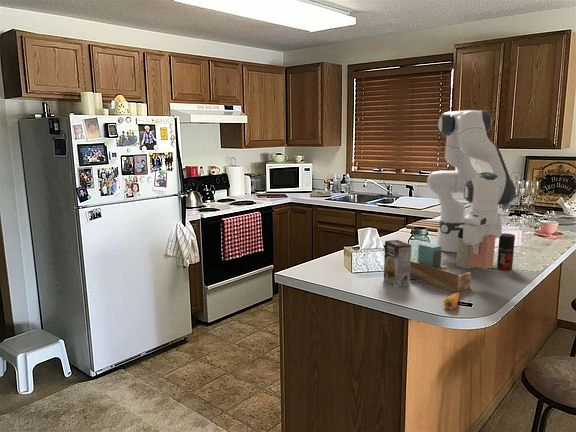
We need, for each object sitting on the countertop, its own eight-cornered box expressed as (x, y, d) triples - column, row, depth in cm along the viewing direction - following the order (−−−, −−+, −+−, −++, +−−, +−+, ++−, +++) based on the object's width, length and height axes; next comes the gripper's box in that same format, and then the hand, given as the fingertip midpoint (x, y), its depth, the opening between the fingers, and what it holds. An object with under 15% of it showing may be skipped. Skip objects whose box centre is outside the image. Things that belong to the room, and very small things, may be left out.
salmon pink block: (474, 261, 183) (477, 231, 180) (492, 266, 177) (495, 235, 174) (467, 263, 180) (469, 233, 178) (485, 268, 174) (487, 237, 172)
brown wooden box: (422, 273, 195) (423, 257, 194) (469, 287, 178) (471, 270, 176) (408, 277, 190) (409, 260, 189) (455, 292, 172) (456, 274, 171)
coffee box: (382, 279, 187) (384, 240, 184) (396, 277, 190) (397, 239, 187) (396, 286, 179) (397, 246, 176) (410, 284, 181) (411, 244, 178)
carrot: (452, 313, 156) (458, 302, 154) (439, 306, 157) (446, 295, 156) (462, 300, 173) (468, 290, 171) (451, 293, 175) (457, 283, 173)
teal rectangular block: (425, 270, 192) (426, 242, 190) (440, 275, 186) (442, 246, 184) (417, 272, 189) (418, 244, 187) (432, 277, 183) (434, 248, 181)
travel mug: (473, 270, 199) (476, 229, 195) (454, 267, 202) (457, 227, 199) (476, 265, 205) (479, 225, 202) (457, 263, 209) (460, 223, 206)
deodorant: (496, 270, 199) (499, 235, 196) (497, 266, 204) (499, 232, 201) (511, 271, 196) (515, 237, 193) (512, 268, 201) (515, 234, 199)
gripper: (492, 211, 183) (489, 245, 186) (460, 218, 171) (458, 255, 174) (507, 214, 178) (504, 249, 181) (476, 222, 166) (473, 259, 169)
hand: (481, 252), depth 177 cm, fingers closed on salmon pink block, 5 cm apart
